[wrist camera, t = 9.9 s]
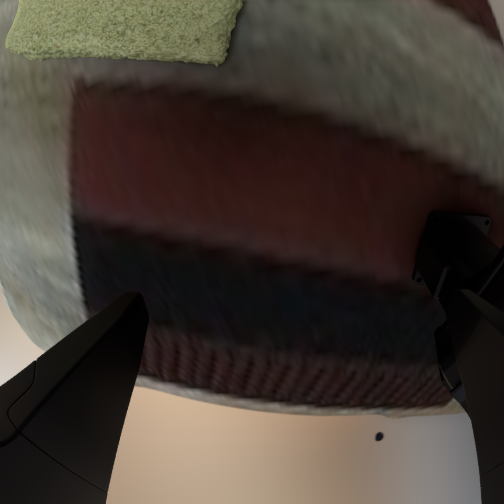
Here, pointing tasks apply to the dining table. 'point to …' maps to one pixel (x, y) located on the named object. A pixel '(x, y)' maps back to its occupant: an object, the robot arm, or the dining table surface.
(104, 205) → the dining table surface
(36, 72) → the dining table surface
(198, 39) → the washcloth
